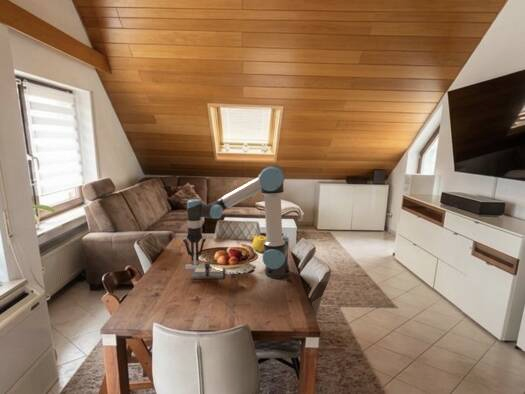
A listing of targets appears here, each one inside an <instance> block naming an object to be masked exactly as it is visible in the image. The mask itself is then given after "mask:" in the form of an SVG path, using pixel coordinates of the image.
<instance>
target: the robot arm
mask: <svg viewBox="0 0 525 394" xmlns="http://www.w3.org/2000/svg"><path fill="white" fill-rule="evenodd" d="M285 179H286V172H285V170H284V168H282V166H279V165H277V164H272V165H270V166H267V167H265V168H264V169H263V170H261V172H260V173H259V174H258V176H257V177H255V178H254V179H251V180H250V181H249V182H247V183H245V184H243V185H241V186H240V187H238V188H235V189H234V190H233V191H231V192H229V193H227V194H225V195H223V196H222V197H220V198H217V199H216V200H215V201H213V202H211V203H202V201H201V200H200V199H199V198H198V199H197V198H194V199H193V198H191V199H189V200H187V202H186V214H187V218H186V219H187V221H186V222H187V235H186V237H184V238H183V239H182V240H183V243H184V245H185V249H186V252H187V254H188V256H191V257H190V258H191V262H193V264H198V263H197V262H198V261H199V256H201V255H202V253H203V250H204V249H203V248H204V245H205V242H206V240H207V237H203V234H202V227H201V226H202V218H205V219H207V218H208V219H221V217H222V216H223V212H224V211H226V210H228V209H229V208H232V207H233V206H235V205H237V204H239V203H241V202H242V201H244V200H246V199H248V198H249V197H252V196H254V195H255V194H257V193H260V192H261V194H262V195H263V196H264V214H265V216H264V217H265V218H264V219H265V237H266V240H265V241H264V251H263V254H262V262H263V264H264V265H265V268H264V274H265V276H266V277H268V278H272V279H277V280H279V279H287V278H288V277H290V276H291V268H290V263H289V243H290V242H289V241H290V240H289V237H288V236H286V235H283V222H282V194H284V189H285V187H284V181H285ZM188 241H189V242H190V245H189V242H188ZM200 241H201V245H200V247H199V242H200ZM190 246H191V247H190Z"/></svg>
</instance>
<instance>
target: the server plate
mask: <svg viewBox="0 0 525 394" xmlns="http://www.w3.org/2000/svg"><path fill="white" fill-rule="evenodd" d="M211 266H212V265H210V268H196V269H192V271H191V274H190V280H207V279H208V280H210V279H214V280H215V279H216V280H217V279H218V280H219V279H220V280H221V279H224V274H223V271H220V270H216V269H214V268H212V267H211Z"/></svg>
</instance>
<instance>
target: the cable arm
mask: <svg viewBox="0 0 525 394" xmlns="http://www.w3.org/2000/svg"><path fill="white" fill-rule="evenodd" d="M210 266H211V264H210V262H205V263H197V264H194V263H191V264H187V263H186V264H185V268H184V269H185V270H188V269H189V270H193V269H196V268H210Z"/></svg>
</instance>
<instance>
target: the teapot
mask: <svg viewBox="0 0 525 394" xmlns="http://www.w3.org/2000/svg"><path fill="white" fill-rule="evenodd" d="M265 240H266V236H264V235H258V236H257V235H253V241H252V244H251V245H252V248H253V250H254V251H255V252H259V253H262V252H264V241H265Z"/></svg>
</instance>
